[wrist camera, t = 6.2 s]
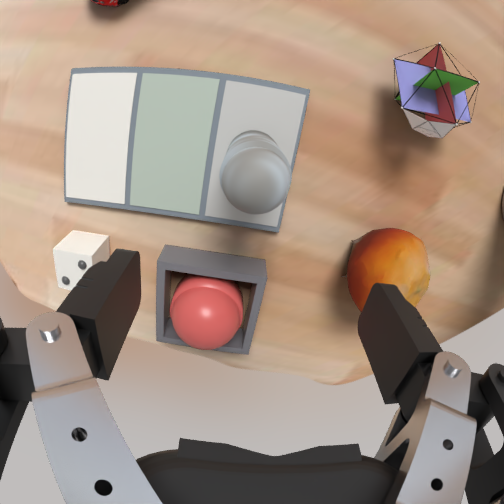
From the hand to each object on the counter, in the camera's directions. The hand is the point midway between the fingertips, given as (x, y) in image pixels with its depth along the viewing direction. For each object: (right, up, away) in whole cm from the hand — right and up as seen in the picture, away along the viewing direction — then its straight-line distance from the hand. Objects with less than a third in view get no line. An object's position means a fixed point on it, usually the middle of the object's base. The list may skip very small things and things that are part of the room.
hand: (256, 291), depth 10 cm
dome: (-4, -3, +19) cm, 20 cm away
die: (-16, +1, +17) cm, 23 cm away
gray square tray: (-4, -3, +19) cm, 20 cm away
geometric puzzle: (+14, +15, +11) cm, 23 cm away
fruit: (+12, +1, +18) cm, 22 cm away
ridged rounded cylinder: (0, +9, +13) cm, 16 cm away
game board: (-6, +10, +13) cm, 17 cm away
